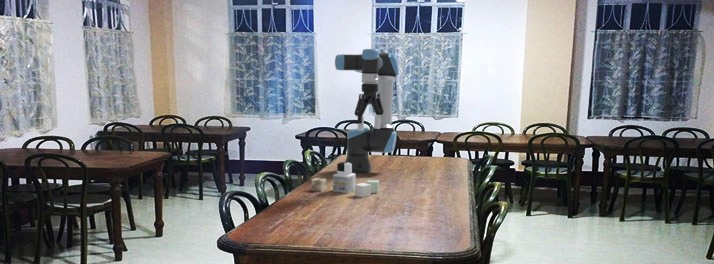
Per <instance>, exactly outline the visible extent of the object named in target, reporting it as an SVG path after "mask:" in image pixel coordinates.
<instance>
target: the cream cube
mask: <svg viewBox="0 0 714 264" xmlns="http://www.w3.org/2000/svg"><path fill="white" fill-rule="evenodd" d="M354 196H356V197H358V198H362V197H363V198H366V197H367V196H368V197H372V193H371V185H370V184H367V182H361V183H356V184H355V190H354Z"/></svg>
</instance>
